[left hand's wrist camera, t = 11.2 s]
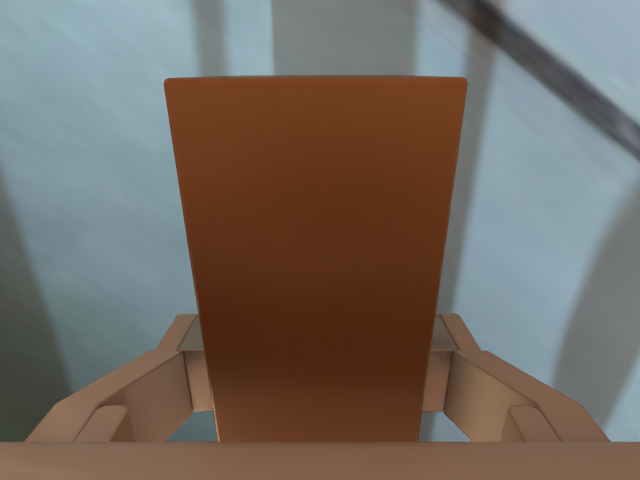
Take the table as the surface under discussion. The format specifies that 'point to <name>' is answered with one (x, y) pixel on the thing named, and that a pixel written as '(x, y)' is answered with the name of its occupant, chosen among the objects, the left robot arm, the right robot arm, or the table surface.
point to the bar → (316, 246)
